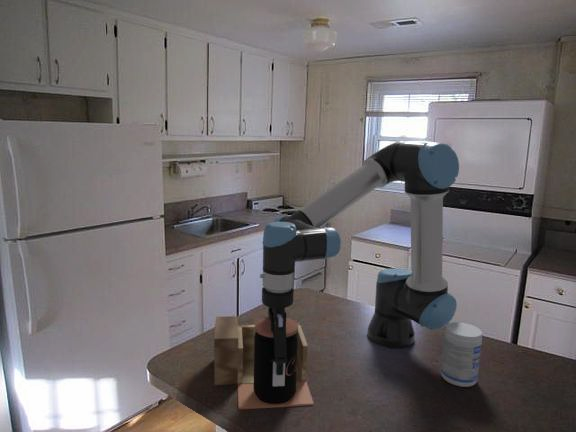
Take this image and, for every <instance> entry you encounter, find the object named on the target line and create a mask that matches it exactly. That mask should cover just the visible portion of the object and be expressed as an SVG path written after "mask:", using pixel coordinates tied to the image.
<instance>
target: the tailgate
mask: <svg viewBox="0 0 576 432" xmlns="http://www.w3.org/2000/svg"><path fill="white" fill-rule="evenodd" d="M237 397H238V399H237V401H238V410H249V409H267V408H269V409H270V408H287V407H304V406H306V407H307V406H314V400H313V397H312V394H311V391H310V389H309V385H308V383H307V380H306V381H296V392H295V394H294V396H293V397H292V398H291V399H290V400H289V401H287V402H285V403H281V404H269V403H265V402H263V401H261V400H260V399H259V398H258V397H257V396H256V394H255V392H254V383H247V384H237Z"/></svg>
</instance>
